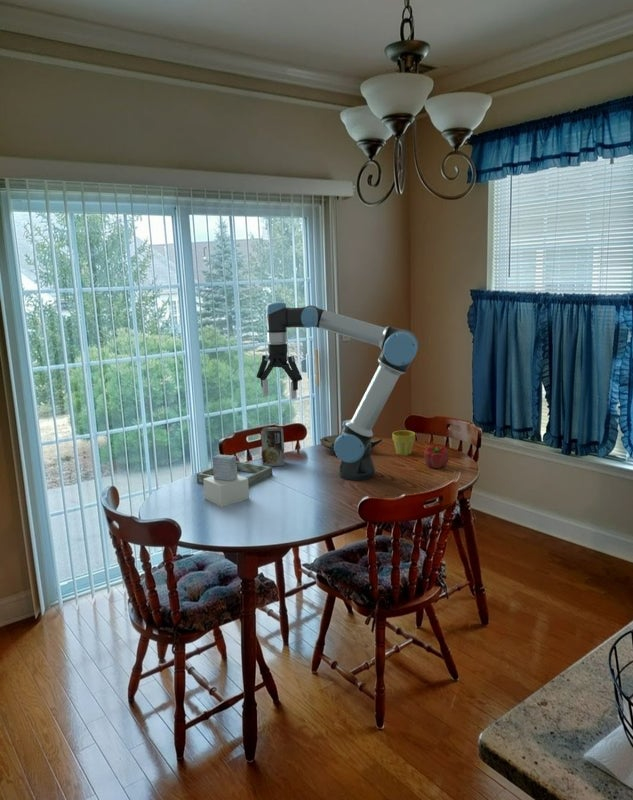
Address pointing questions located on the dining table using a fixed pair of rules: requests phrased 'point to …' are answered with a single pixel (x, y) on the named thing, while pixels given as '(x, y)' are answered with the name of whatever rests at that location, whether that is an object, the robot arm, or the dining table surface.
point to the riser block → (226, 490)
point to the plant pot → (403, 441)
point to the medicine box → (224, 467)
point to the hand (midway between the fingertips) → (279, 397)
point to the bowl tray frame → (259, 470)
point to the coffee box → (273, 446)
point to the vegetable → (436, 456)
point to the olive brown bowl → (330, 440)
